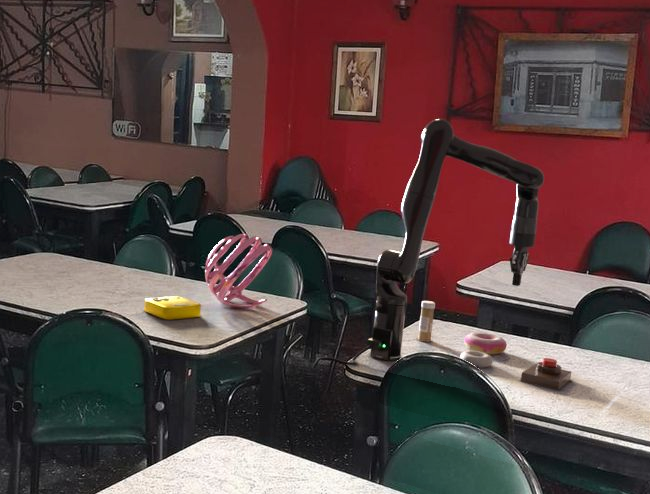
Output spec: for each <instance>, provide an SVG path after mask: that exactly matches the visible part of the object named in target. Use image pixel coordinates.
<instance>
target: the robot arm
mask: <svg viewBox="0 0 650 494" xmlns="http://www.w3.org/2000/svg"><path fill="white" fill-rule="evenodd" d="M420 142H421V148H420V154H419V158H418V161H417V163H416V166H415V168H414V169H413V172H412V173H411V174H412V175H411V176H410V178H409V181H408V183H407V185H406V188H405V191H404V195H403V198H402V202H401V205H400V214H401V219H402V223H403V227H404V233H405V235H404V236H405V237H404V243H403V247H402V251H398V250H395V249H394V250H393V249H385V250H383V251H382V252H381V254H380V255H379V257H378V260H377V264H376V273H375V274H376V277H375V293H376V302H375V310H374V321H373V329H372V337H370V338H367V340H366V347H364V348H363V349H362V350H360V351H359V352H358V353H356V355H354V356H353V358H352V359H351V361H345V360H341V359H339V358H336V357H330V356H329V357H328V356H318V357H317V359H316V360H315V362H314V364H313V365H312V369H315V368H316V367H317V365H318V364H319V362H320V361H333V362H336V363H340V364H342V365H346V366H355V365H356V364H357V363H356V359H357V358H359V357H360V356H361V355H363V354H364V353H366V351H368V350H370V354H369V355H370V357H371V358H375V359H379V360H383V361H387V362H388V361H396V360H400V359H401V357H402V347H403V346H402V345H403V338H404V337H403V336H404V328H405V319H406V311H407V302H408V296H407V294H406V293H405V292H404V291H403V290H401V289H400V288H399V286H398V283H400V284H408V283H410V282H411V281H412V280H413V278H414V277H415V274H416V271H417V268H418V264H419V259H420V254H421V248H422V243H423V239H424V235H425V232H426V228H427V225H428V222H429V218H430V216H431V212H432V210H433V206H434V203H435V200H436V199H435V198H436V194H437V191H438V188H439V187H438V186H439V181H440V177H441V171H442V168H443V164H444V161H445V159H446V157H448V158H453V159H455V160H458V161H461V162H464V163H467V164H469V165H472V166H474V167H476V168H478V169H480V170H483V171H484V172H488V173H489V174H491V175H494V176H496V177H499V178H501V179H505V180H508V181H509V182H511V183H514V184H516V200H515V205H514V211H513V218H512V222H511V228H510V236H509V245H511V246H513V247H514V249H513V251H512V253H511V256H510V257H509V265H510V272H511V273H512V274H513V275H512V283H511V284H512V286H515V287H520V286H521V284H522V283H521V282H522V277H523V276H522V275H523V274H524V272H525V271H526V268H527V265H528V263H529V259H530V254H529V249H530V248H531V249H532V248H534V247H535V243H536V235H537V228H538V215H539V205H540V204H539V203H540V202H539V199H538V196H539V189H540V188H541V187H542V186H543V185H544V183H545V175H544V172H543V171H542V170H541V169H540V168H539V167H536V166H533V165H531V164H528V163H526V162H523V161H520V160H517V159H516V158H514V157H512V156H510V155H509V154H506V153H504V152H501V151H499V150H498V149H494V148H492V147H491V148H490V147H488V146H484V145H479V144H476V143H472V142H469V141H466V140H464V139H462V138H459V137H458V136H457V135H455V134H454V129H453V126H452V125H451V123H450V122H449V121H447V120H446V119H443V118H438V119H434V120H432V121H430V122H429V123H428V124H426V126H425V127H424V129H423V131H422V132H421V135H420ZM399 358H400V359H399Z"/></svg>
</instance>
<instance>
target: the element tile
mask: <svg viewBox="0 0 650 494" xmlns="http://www.w3.org/2000/svg"><path fill="white" fill-rule="evenodd" d="M201 310H202V304H201V303H199V302H196V301H193V300H191V299H188V298H185V297H182V296H179V295H176V296H175V295H173V296H163V297H162V296H161V297H149V298H145V299H144V312H145V313H148V314H150V315H152V316H154V317H157V318H160V319H161V320H166V321H172V320H173V321H175V320H181V319H182V320H183V319H192V318H193V319H194V318H199V317H200V316H201Z"/></svg>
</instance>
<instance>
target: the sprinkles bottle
mask: <svg viewBox="0 0 650 494" xmlns="http://www.w3.org/2000/svg"><path fill="white" fill-rule="evenodd" d="M420 307H421V310H420V317H419V326H418V337H417V340H418V341H420V342H427V343H429V342H432V331H433V323H434V312H435V308H436V303H435V301H431V300H422V301H421V305H420Z"/></svg>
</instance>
